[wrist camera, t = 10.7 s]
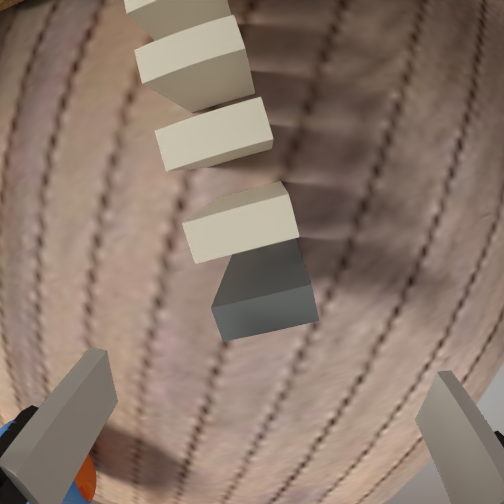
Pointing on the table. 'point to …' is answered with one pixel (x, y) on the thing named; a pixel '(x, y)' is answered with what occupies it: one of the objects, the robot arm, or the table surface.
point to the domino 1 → (174, 14)
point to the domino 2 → (198, 65)
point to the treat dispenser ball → (77, 481)
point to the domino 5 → (264, 292)
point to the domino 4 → (241, 223)
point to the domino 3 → (216, 136)
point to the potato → (8, 3)
